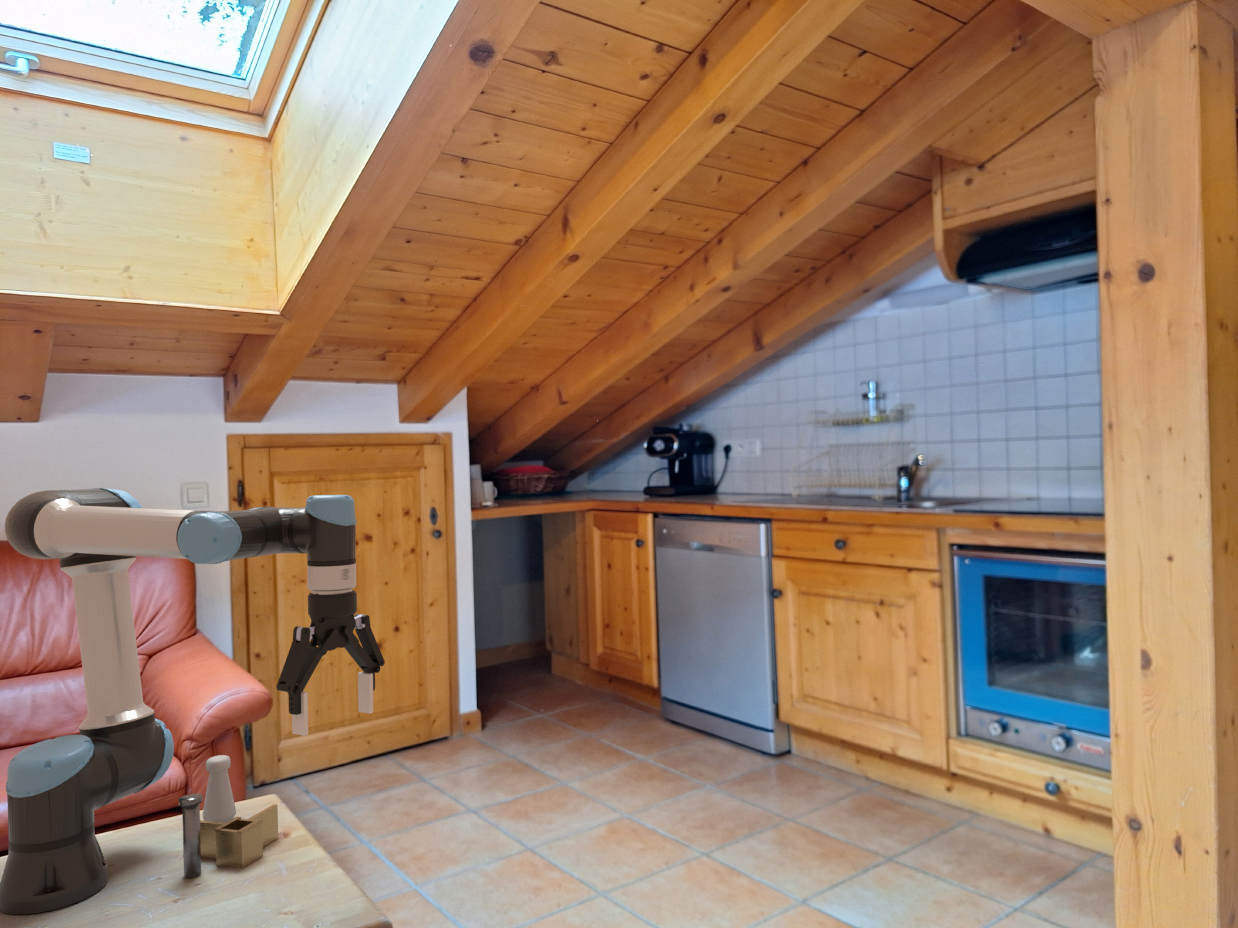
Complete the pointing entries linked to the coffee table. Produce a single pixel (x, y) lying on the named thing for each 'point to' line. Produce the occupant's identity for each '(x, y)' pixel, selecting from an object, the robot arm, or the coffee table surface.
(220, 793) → the salt shaker
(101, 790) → the robot arm
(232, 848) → the hinge
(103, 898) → the coffee table surface
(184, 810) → the hinge pin
